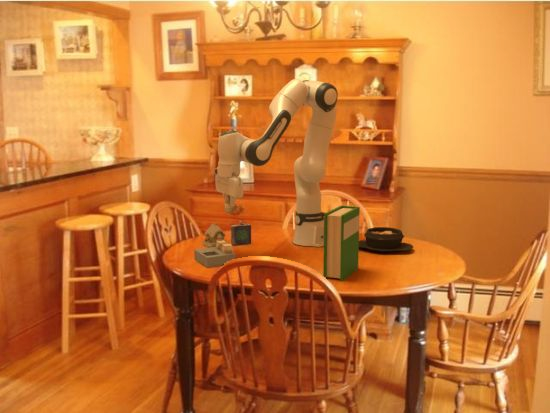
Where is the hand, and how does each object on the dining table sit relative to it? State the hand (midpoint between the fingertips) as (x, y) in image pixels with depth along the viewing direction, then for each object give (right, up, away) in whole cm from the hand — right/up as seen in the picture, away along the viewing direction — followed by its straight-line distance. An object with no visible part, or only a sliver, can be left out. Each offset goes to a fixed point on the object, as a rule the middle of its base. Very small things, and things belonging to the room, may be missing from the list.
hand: (229, 205), depth 234 cm
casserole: (+65, -19, +15) cm, 70 cm away
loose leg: (0, -3, 0) cm, 3 cm away
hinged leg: (-2, -18, -1) cm, 18 cm away
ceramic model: (-8, -18, +24) cm, 31 cm away
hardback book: (+43, -26, -19) cm, 54 cm away
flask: (+3, -18, +25) cm, 30 cm away
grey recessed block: (-6, -22, -3) cm, 23 cm away
